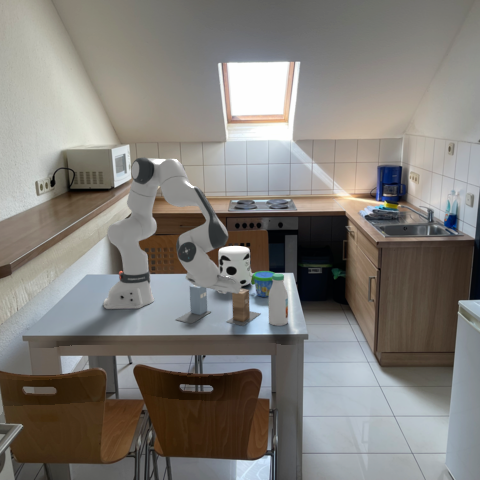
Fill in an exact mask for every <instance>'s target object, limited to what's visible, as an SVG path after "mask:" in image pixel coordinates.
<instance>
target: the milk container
mask: <svg viewBox="0 0 480 480" xmlns="http://www.w3.org/2000/svg"><path fill="white" fill-rule="evenodd" d="M218 249H219V250H218V257H217V258H218V268H219V269H220V274H223V275H229V276H232V277H234V278H235V279H236V280H238V281H239V282H240V283H241V285H242V286H241V288H243V287H246V286H248V285H251V278H252V275H253V273H252V269H251V252H250V248H249V247H246V246H239V245H233V246H232V245H230V246H223V247H220V248H218Z"/></svg>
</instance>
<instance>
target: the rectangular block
mask: <svg viewBox="0 0 480 480" xmlns="http://www.w3.org/2000/svg"><path fill="white" fill-rule="evenodd" d="M207 295H208V294H207V288H204V287H199V286H195V285H193V284H191V285H189V300H190V302H189V303H190V304H189V305H190V306H189V307H190V311H191V313H194V314H198V315H201V314H203V313H205V312H207V311H208V299H207V298H208V296H207Z"/></svg>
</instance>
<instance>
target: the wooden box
mask: <svg viewBox="0 0 480 480" xmlns="http://www.w3.org/2000/svg"><path fill="white" fill-rule="evenodd" d="M231 296H232V298H231V299H232V300H231V301H232V303H231V304H232V318H233V320H237V321H241V322H244V321H246V320H247V319H249V318H250V311H251V309H250V289H246V288H241V289H240V291H239V293H231Z"/></svg>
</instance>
